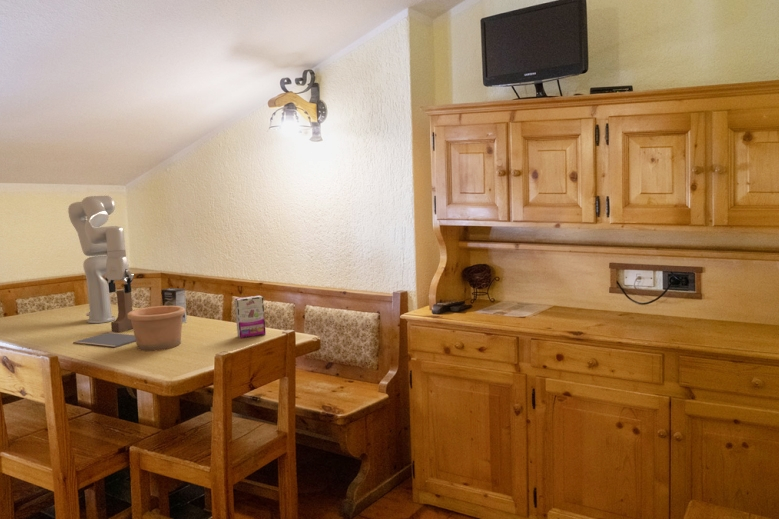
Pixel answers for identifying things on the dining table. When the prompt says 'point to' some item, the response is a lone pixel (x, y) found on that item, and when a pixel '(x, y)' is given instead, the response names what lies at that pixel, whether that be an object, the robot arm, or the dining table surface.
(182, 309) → the pottery
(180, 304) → the coffee box
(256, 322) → the candy bar box
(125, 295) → the brown boot
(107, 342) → the mat
